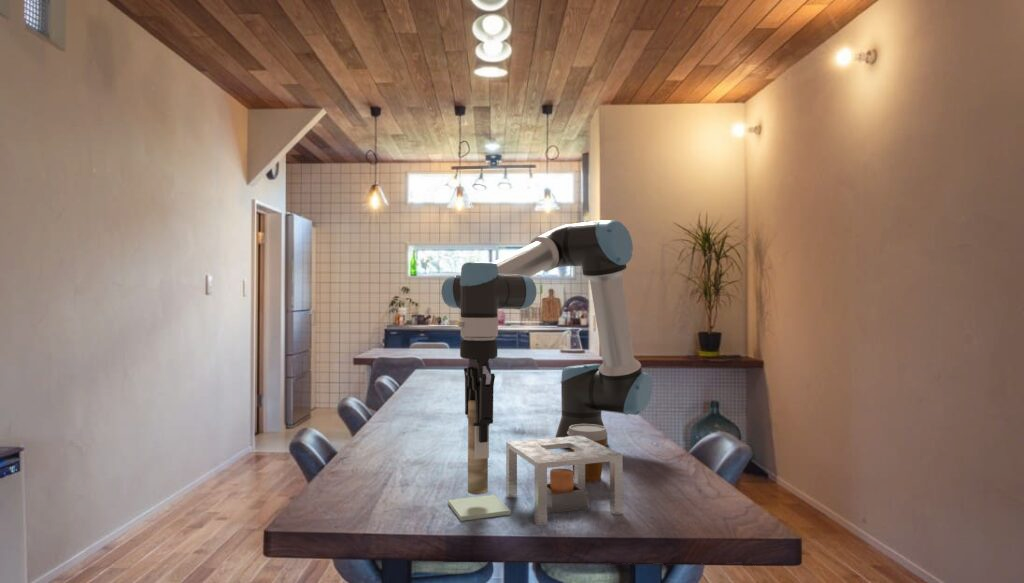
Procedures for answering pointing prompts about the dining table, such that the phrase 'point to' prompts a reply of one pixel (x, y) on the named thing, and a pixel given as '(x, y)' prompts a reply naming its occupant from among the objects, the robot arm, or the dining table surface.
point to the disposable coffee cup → (596, 435)
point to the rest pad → (478, 507)
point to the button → (561, 480)
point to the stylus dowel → (475, 466)
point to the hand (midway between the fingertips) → (478, 454)
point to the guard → (544, 459)
